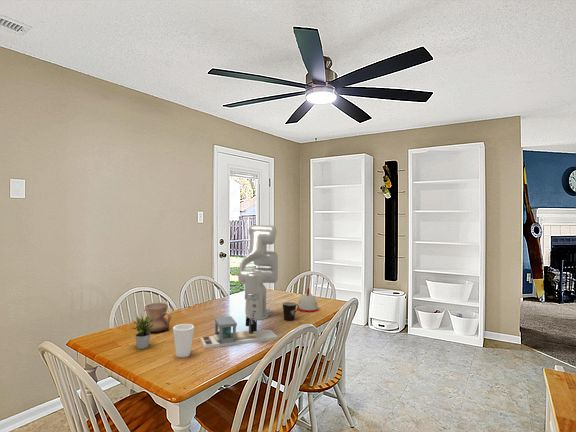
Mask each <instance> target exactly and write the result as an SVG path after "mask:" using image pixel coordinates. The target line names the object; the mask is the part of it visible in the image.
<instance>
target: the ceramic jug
mask: <svg viewBox="0 0 576 432" xmlns="http://www.w3.org/2000/svg"><path fill="white" fill-rule="evenodd" d="M168 306H169V304H168V303H167V302H163V301H162V302H161V301H160V302H149V303H147V304H145V305H144V308H143V312H145V313H146V315H147V314H148V315H150V316H149V320H148V322H149V321H150V320H151V319H152V318H154V317H155V318H156V320H155V318H154V320H153V321H152V323H150V324H151V325H152V324H153V325H154V326H153V327H154V328H155V329H153V328H149V330H148V331H147V332H150V333H157V332H162V331H164V330H166V329H167V330H168V328H169V327H170V322H171V320H172V314H171V312H169V311H167V310H168ZM166 315H167V317H168V318H166V317H165V316H166ZM156 316H158V317H156ZM154 323H155V324H154ZM147 324H148V323H147ZM147 324H146V325H147ZM151 325H149V326H151ZM149 326H148V327H149Z"/></svg>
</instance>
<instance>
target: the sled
mask: <svg viewBox="0 0 576 432" xmlns="http://www.w3.org/2000/svg"><path fill="white" fill-rule="evenodd" d="M251 324H252V323H251V320H249V326H248V330H246V331H236V340H237V339H246V338H254V337H257V335H256V334H255V333H254V332H251ZM218 331H219V334H216V335H215V334H214V335H213V336H214V338H215V339H216V341H217V342H219V336H220V328H219V327H218ZM232 337H233V332H232V327H225V328H223V332H222V339H224V338H232Z"/></svg>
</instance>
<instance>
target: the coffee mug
mask: <svg viewBox="0 0 576 432" xmlns="http://www.w3.org/2000/svg"><path fill="white" fill-rule="evenodd" d="M298 308H299V305H298V304H297V303H296V302H291V301H286V302H283V303H282V310H283V320H284V321H286V322H293V321H294V320H295V318H296V317H295V315H296V312H298V311H299V310H298Z"/></svg>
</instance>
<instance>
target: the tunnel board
mask: <svg viewBox="0 0 576 432" xmlns="http://www.w3.org/2000/svg"><path fill="white" fill-rule="evenodd" d="M214 323H215V324H214V335H216V334H219V328H220V336H219V342H217V341H216V339H215V338H214V335H211V336H209V335H208V336H202V337H201V336H200V343H201V344H202V346H203V347H202V348H204V350H205V349H213V348H219V347H228V346H237V345H243V344H251V343H259V342H260V343H261V342H268V341H274V340H275V341H276V340H278V339H279V338H278V337H279V336H278V335H277V334H276V333H275V332H274V331H272V330H271V329H264V330H263V329H262V330H257V331H254V333H255V334H256V335H257V337H254V338H246V339H237V340H236V332H237V326H238V323H237V322H236V320H235V319H234V318H233V316H231V315H228V316H220V317H214ZM225 327H231V328H232V333H233V337H232V338H224V339H222V332H223V328H225Z"/></svg>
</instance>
